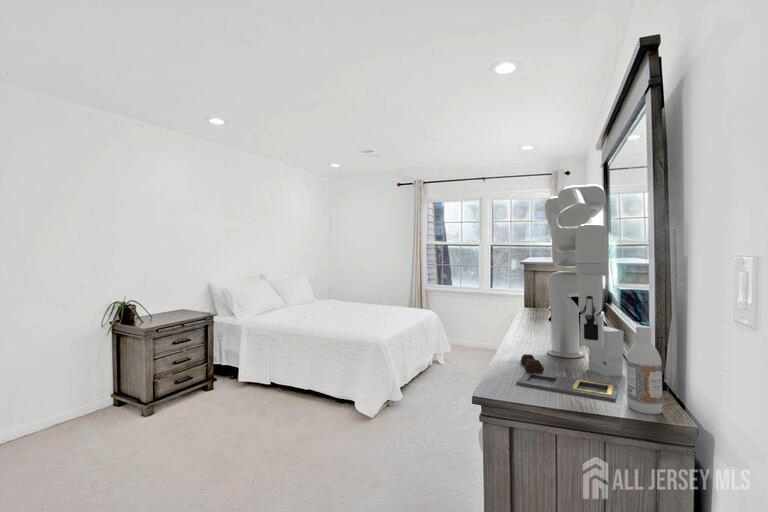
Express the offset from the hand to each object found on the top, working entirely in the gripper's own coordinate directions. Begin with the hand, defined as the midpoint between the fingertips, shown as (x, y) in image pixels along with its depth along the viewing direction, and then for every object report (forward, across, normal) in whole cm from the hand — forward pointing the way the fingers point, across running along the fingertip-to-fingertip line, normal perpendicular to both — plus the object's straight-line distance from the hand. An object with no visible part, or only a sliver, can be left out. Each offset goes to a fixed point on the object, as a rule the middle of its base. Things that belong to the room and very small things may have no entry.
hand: (592, 337), depth 103 cm
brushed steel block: (+2, 0, 0) cm, 2 cm away
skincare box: (+16, -21, +1) cm, 26 cm away
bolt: (+16, -15, -20) cm, 29 cm away
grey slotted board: (+15, 0, -7) cm, 17 cm away
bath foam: (+16, +5, +11) cm, 20 cm away
